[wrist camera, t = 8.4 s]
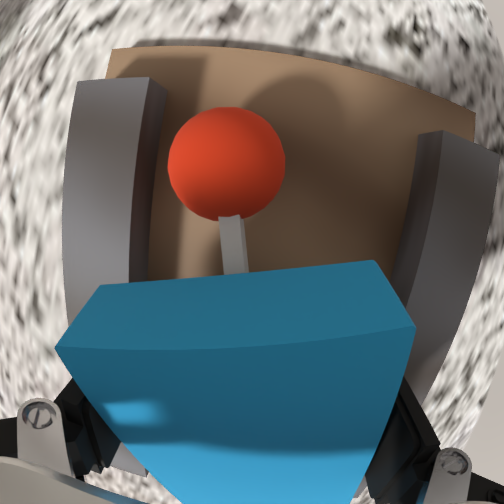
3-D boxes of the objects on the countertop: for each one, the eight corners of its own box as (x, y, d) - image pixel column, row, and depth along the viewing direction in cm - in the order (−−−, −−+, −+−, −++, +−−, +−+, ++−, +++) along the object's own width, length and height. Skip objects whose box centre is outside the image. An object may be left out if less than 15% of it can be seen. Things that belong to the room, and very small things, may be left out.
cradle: (340, 479, 17) (346, 510, 14) (120, 448, 17) (107, 477, 14) (464, 115, 11) (502, 108, 8) (121, 55, 11) (89, 34, 8)
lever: (327, 423, 17) (327, 98, 9) (339, 520, 11) (435, 87, 3) (220, 430, 18) (131, 126, 10) (210, 525, 11) (-16, 169, 4)
